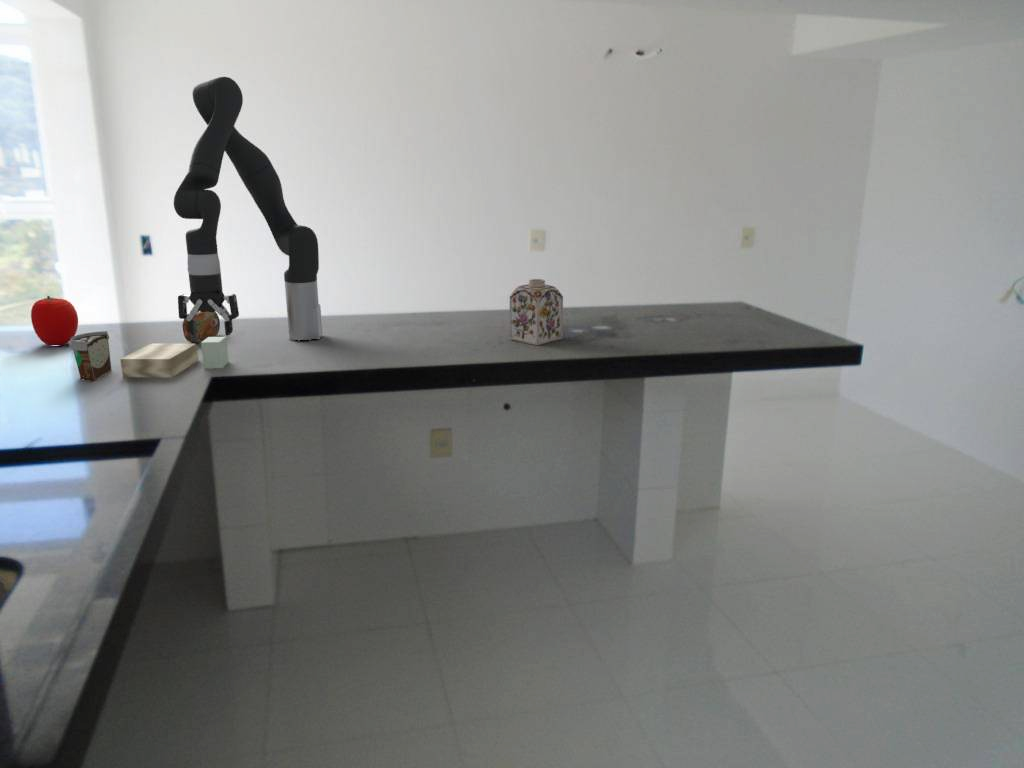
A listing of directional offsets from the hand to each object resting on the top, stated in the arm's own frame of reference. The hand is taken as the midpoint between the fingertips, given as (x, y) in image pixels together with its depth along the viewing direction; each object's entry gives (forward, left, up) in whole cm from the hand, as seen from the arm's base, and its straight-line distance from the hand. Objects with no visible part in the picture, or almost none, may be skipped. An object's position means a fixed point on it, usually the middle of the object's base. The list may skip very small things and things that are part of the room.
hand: (211, 334), depth 189 cm
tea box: (-1, 0, -8) cm, 8 cm away
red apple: (+51, -26, -8) cm, 58 cm away
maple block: (+12, +2, -9) cm, 15 cm away
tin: (+12, -30, -8) cm, 34 cm away
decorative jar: (-87, -24, -8) cm, 90 cm away
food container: (+27, +8, -8) cm, 30 cm away
